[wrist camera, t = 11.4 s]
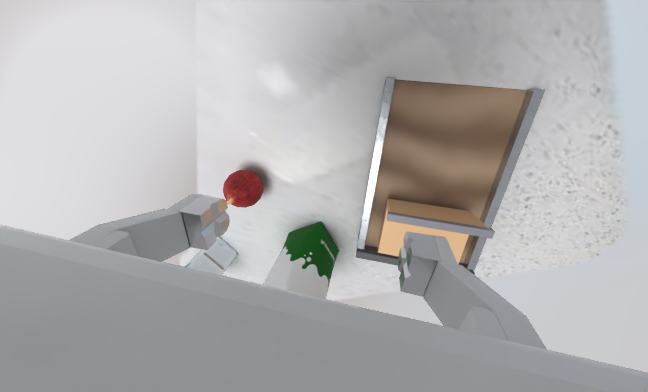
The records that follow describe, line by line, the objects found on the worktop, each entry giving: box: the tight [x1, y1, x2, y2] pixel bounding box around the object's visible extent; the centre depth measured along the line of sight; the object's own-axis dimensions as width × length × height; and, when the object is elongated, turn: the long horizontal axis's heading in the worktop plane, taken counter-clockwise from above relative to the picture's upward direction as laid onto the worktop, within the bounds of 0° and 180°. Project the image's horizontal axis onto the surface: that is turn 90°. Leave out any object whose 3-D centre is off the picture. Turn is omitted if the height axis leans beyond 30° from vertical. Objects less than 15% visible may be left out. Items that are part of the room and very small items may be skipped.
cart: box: [378, 199, 495, 264], centre depth 31 cm, size 9×12×7 cm
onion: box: [223, 170, 263, 207], centre depth 36 cm, size 6×6×8 cm
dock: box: [356, 77, 545, 275], centre depth 32 cm, size 25×17×6 cm
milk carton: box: [263, 222, 339, 299], centre depth 35 cm, size 9×9×20 cm
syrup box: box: [185, 236, 237, 275], centre depth 43 cm, size 6×6×14 cm
